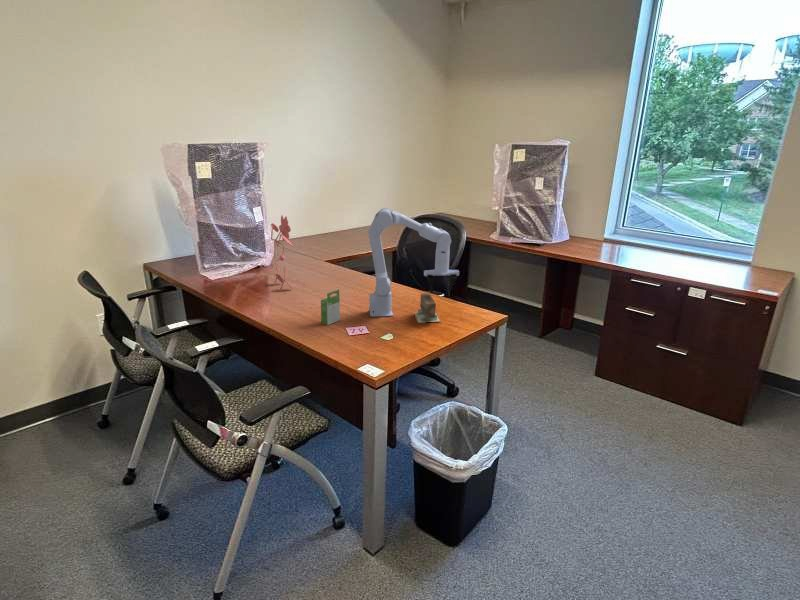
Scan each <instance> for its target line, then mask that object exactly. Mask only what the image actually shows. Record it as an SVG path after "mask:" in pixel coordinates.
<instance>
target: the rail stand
mask: <svg viewBox="0 0 800 600" xmlns="http://www.w3.org/2000/svg"><path fill="white" fill-rule="evenodd" d="M414 317H415V319H416V321H417V323H418V324H427V323H426V322H440V323H441V319H439V316H438V313H436V312H435V318H426V317H425V315H424V313H423V311H422V309H421V308H417V312H414Z"/></svg>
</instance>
